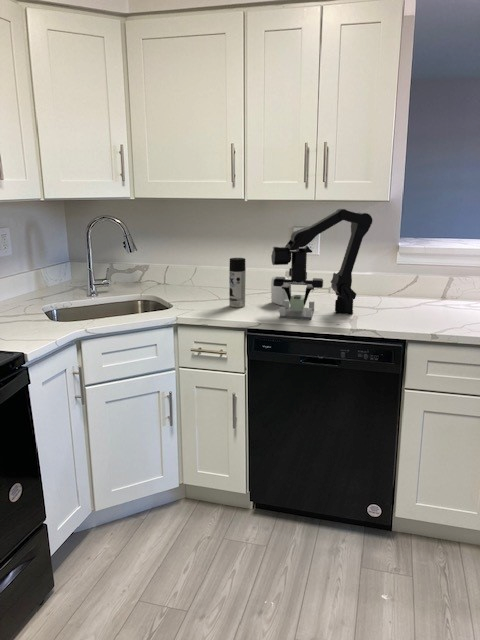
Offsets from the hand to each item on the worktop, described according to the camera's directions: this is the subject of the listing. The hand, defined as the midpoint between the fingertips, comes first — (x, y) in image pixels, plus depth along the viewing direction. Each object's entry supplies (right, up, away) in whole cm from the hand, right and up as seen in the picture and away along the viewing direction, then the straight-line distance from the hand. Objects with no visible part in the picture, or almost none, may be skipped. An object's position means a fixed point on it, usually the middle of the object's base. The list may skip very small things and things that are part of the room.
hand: (297, 304), depth 201 cm
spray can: (-24, -1, +15) cm, 28 cm away
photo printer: (-5, 0, +19) cm, 20 cm away
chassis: (0, -4, +1) cm, 4 cm away
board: (0, -1, 0) cm, 1 cm away
